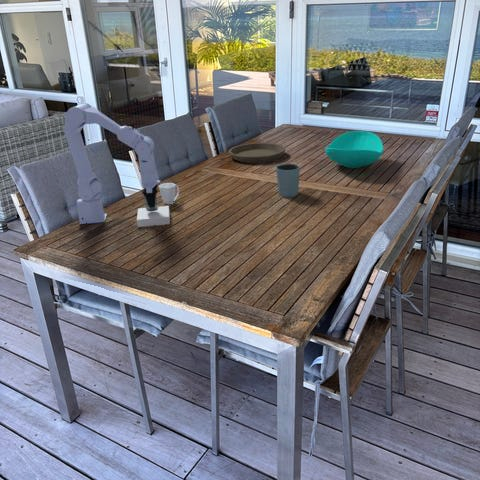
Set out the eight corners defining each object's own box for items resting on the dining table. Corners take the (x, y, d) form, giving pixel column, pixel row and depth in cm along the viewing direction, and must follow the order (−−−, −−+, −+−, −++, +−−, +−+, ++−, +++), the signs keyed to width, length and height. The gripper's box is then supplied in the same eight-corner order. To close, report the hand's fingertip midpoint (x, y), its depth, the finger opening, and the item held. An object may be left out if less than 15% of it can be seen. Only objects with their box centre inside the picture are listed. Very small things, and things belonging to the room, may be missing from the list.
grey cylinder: (146, 212, 181) (144, 197, 178) (145, 208, 185) (143, 193, 182) (158, 210, 182) (156, 195, 179) (157, 206, 186) (155, 192, 183)
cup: (157, 204, 201) (155, 186, 197) (173, 197, 208) (171, 179, 204) (169, 207, 197) (167, 188, 193) (185, 200, 204) (183, 182, 201)
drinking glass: (298, 197, 201) (298, 170, 196) (274, 197, 203) (274, 169, 198) (300, 190, 210) (300, 163, 205) (277, 189, 212) (277, 163, 207)
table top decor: (376, 180, 217) (378, 151, 212) (316, 175, 227) (317, 148, 221) (386, 157, 250) (388, 132, 245) (333, 154, 260) (334, 129, 254)
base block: (137, 227, 179) (136, 219, 178) (139, 215, 190) (138, 208, 189) (169, 224, 181) (169, 216, 179) (169, 212, 191) (168, 205, 190)
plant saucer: (220, 155, 270) (220, 147, 268) (268, 147, 281) (268, 139, 279) (244, 168, 244) (243, 159, 242) (296, 159, 255) (296, 150, 254)
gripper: (158, 175, 171) (162, 210, 177) (158, 164, 184) (162, 197, 190) (138, 176, 170) (143, 212, 176) (140, 165, 183) (144, 199, 189)
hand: (152, 204), depth 183 cm, fingers closed on grey cylinder, 4 cm apart
